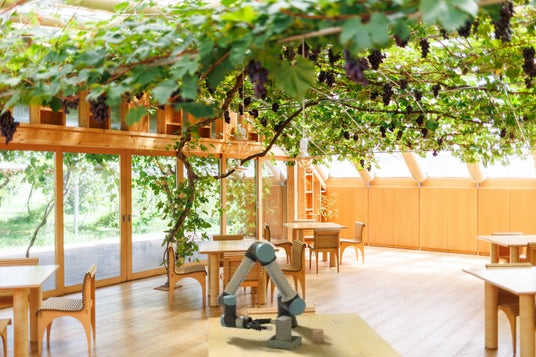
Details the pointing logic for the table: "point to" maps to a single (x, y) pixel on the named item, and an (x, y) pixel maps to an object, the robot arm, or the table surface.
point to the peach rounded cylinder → (318, 336)
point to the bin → (284, 343)
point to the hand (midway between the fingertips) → (276, 325)
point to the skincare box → (284, 329)
